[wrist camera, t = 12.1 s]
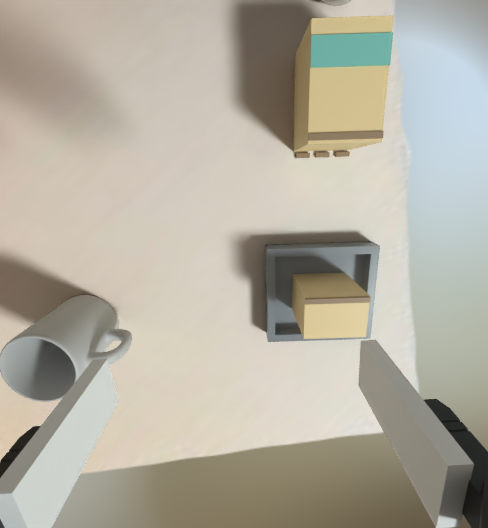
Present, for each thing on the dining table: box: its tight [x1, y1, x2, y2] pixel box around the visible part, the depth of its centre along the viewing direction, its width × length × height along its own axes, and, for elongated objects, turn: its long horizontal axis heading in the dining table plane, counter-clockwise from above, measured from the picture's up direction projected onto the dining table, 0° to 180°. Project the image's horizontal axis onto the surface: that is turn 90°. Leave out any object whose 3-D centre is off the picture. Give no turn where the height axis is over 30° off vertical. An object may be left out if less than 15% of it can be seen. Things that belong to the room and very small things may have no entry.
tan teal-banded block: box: [294, 15, 394, 158], centre depth 30 cm, size 11×7×8 cm, turn 2°
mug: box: [0, 295, 132, 402], centre depth 36 cm, size 12×8×11 cm
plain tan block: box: [292, 273, 371, 339], centre depth 36 cm, size 5×7×8 cm
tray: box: [266, 242, 380, 342], centre depth 39 cm, size 13×14×2 cm
